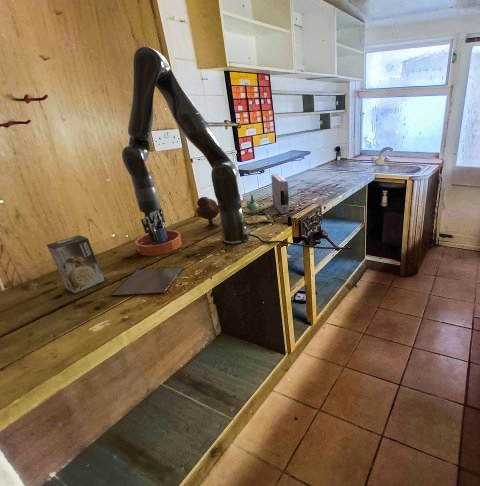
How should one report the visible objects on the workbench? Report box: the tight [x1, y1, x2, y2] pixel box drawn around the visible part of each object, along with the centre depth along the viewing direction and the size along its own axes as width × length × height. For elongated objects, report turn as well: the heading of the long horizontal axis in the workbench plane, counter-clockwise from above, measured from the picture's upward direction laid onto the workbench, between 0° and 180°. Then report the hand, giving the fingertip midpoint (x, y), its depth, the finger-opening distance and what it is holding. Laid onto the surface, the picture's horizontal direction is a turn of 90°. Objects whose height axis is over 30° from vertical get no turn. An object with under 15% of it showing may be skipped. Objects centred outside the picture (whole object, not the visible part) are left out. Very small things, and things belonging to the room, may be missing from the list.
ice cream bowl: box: [195, 196, 219, 229], centre depth 147 cm, size 11×11×15 cm
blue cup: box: [147, 224, 168, 245], centre depth 128 cm, size 6×6×7 cm
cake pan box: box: [270, 173, 290, 215], centre depth 169 cm, size 19×5×18 cm, turn 23°
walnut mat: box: [111, 267, 183, 297], centre depth 105 cm, size 16×16×1 cm
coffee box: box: [46, 234, 105, 294], centre depth 101 cm, size 9×6×16 cm
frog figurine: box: [242, 194, 275, 225], centre depth 153 cm, size 10×18×15 cm, turn 67°
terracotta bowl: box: [134, 229, 183, 257], centre depth 129 cm, size 17×17×4 cm
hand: (158, 237), depth 128 cm, fingers closed on blue cup, 6 cm apart
